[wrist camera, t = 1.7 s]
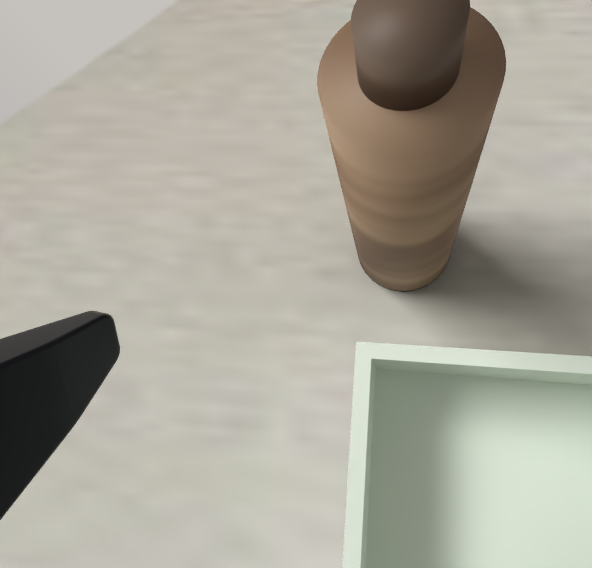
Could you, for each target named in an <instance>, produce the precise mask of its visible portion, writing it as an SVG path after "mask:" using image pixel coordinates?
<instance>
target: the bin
mask: <svg viewBox="0 0 592 568" xmlns="http://www.w3.org/2000/svg"><path fill="white" fill-rule="evenodd" d="M342 568H592V356H578V355H562V354H546V353H530V352H514V351H498V350H482V349H466V348H450V347H434V346H418V345H402V344H386V343H370V342H356V352H355V368H354V384H353V401H352V417H351V433H350V449H349V466H348V482H347V498H346V514H345V531H344V547H343V563H342Z"/></svg>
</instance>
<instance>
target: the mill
mask: <svg viewBox="0 0 592 568" xmlns="http://www.w3.org/2000/svg"><path fill="white" fill-rule="evenodd" d="M505 71H506V57H505V50H504V47H503V43H502V41H501V39H500V37H499V35H498V33H497V31H496V30H495V28H494V27H493V26H492V24H491V23H490V22H489V21H488V20H487V19H486V18H485V17H484V16H483V15H481V14H480V13H479V12H477V11H476V10H474V9H472V8H471V7H470V1H469V0H357V1H356V3H355V5H354V8H353V11H352V16H351V20H350V21H349V22H348V23H347V24H346V25H344V26H343V27H342V28H341V29H340V30H339V31H338V33H337V34H336V35H335V36H334V37H333V38H332V40H331V41H330V43H329V45H328V46H327V48H326V50H325V52H324V54H323V56H322V59H321V62H320V65H319V70H318V80H317V85H318V93H319V97H320V101H321V106H322V110H323V114H324V118H325V122H326V126H327V130H328V134H329V138H330V142H331V147H332V151H333V155H334V159H335V163H336V167H337V171H338V175H339V179H340V184H341V188H342V192H343V196H344V200H345V204H346V208H347V212H348V216H349V220H350V225H351V229H352V233H353V237H354V241H355V245H356V249H357V253H358V257H359V261H360V264H361V266H362V268H363V270H364V271H365V273H366V274H367V275H368V276H369V277H370V278H371V279H372V280H373V281H374V282H376V283H377V284H379V285H381V286H383V287H385V288H388V289H392V290H398V291H409V290H415V289H419V288H421V287H424V286H426V285H428V284H430V283H431V282H432V281H434V280H435V279H436V278H437V277H438V276H439V275H440V274H441V273H442V272H443V270H444V269H445V267H446V265H447V263H448V260H449V257H450V254H451V250H452V247H453V244H454V241H455V237H456V234H457V231H458V227H459V224H460V221H461V218H462V214H463V211H464V208H465V205H466V201H467V198H468V195H469V192H470V188H471V185H472V182H473V179H474V175H475V172H476V169H477V166H478V162H479V159H480V156H481V153H482V149H483V146H484V143H485V140H486V136H487V133H488V130H489V127H490V123H491V120H492V117H493V114H494V110H495V107H496V104H497V101H498V97H499V94H500V91H501V87H502V84H503V80H504V76H505Z"/></svg>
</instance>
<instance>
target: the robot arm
mask: <svg viewBox="0 0 592 568" xmlns="http://www.w3.org/2000/svg"><path fill="white" fill-rule="evenodd" d="M119 353H120V345H119V341H118V336H117V332H116V327H115V323H114V320H113V318H112V317H111V315H109V314H106V313H101V312H97V311H88V312H85V313H81V314H78V315H75V316H72V317H69V318H66V319H62V320H59V321H56V322H53V323H50V324H47V325H43V326H40V327H37V328H34V329H31V330H27V331H24V332H21V333H18V334H15V335H12V336H8V337H5V338H2V339H0V520H1V519H2V517H3V516H4V515H5V513H6V512H7V511H8V510H9V508H10V507H11V506H12V505H13V503H14V502H15V501H16V499H17V498H18V497H19V496H20V494H21V493H22V492H23V491H24V489H25V488H26V487H27V485H28V484H29V483H30V482H31V480H32V479H33V478H34V477H35V475H36V474H37V473H38V471H39V470H40V469H41V468H42V466H43V465H44V464H45V462H46V461H47V460H48V459H49V457H50V456H51V455H52V454H53V452H54V451H55V450H56V448H57V447H58V446H59V445H60V443H61V442H62V441H63V440H64V438H65V437H66V436H67V434H68V433H69V432H70V430H71V429H72V428H73V426H74V425H75V424H76V422H77V421H78V419H79V418H80V417H81V415H82V414H83V412H84V411H85V409H86V407H87V406H88V404H89V403H90V401H91V400H92V398H93V397H94V395H95V393H96V392H97V390H98V389H99V387H100V386H101V384H102V383H103V381H104V379H105V378H106V376H107V375H108V373H109V372H110V370H111V369H112V367H113V365H114V364H115V362H116V361H117V359H118V356H119Z"/></svg>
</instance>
